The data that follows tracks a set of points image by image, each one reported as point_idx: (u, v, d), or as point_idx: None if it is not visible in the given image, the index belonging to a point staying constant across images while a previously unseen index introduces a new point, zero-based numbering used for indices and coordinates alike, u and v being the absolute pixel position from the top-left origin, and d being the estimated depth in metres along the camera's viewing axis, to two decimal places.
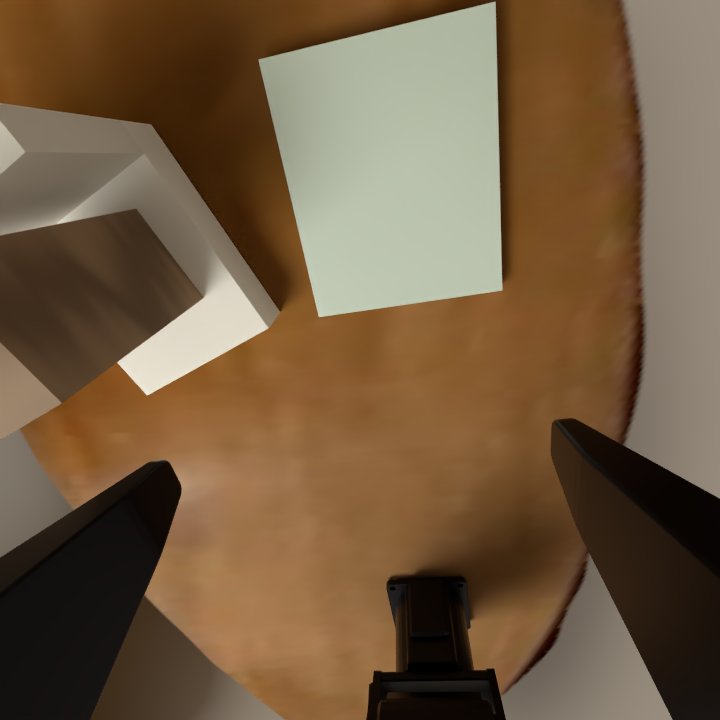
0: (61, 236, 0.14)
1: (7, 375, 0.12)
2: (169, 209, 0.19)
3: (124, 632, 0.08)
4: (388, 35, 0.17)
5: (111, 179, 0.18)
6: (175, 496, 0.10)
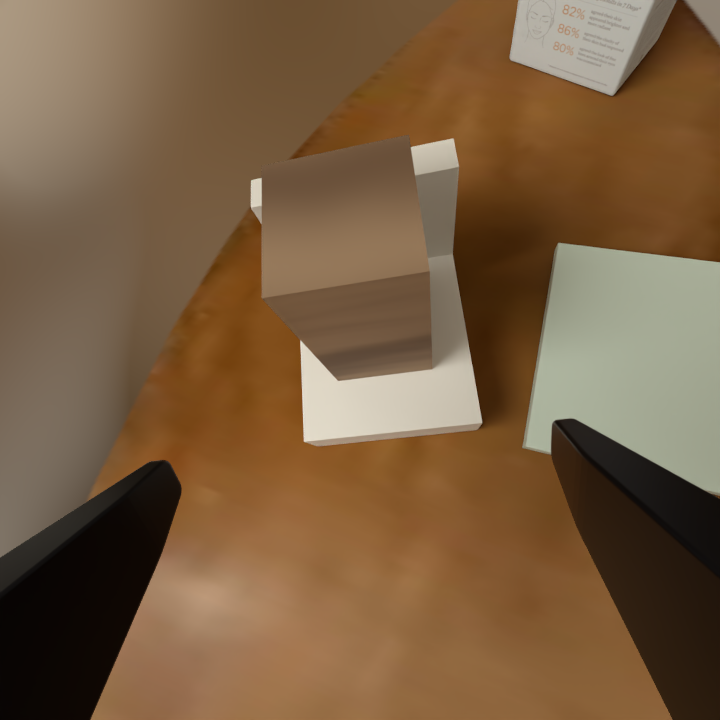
0: None
1: (398, 232, 0.12)
2: (447, 292, 0.22)
3: (124, 632, 0.08)
4: (668, 260, 0.22)
5: None
6: (175, 496, 0.10)
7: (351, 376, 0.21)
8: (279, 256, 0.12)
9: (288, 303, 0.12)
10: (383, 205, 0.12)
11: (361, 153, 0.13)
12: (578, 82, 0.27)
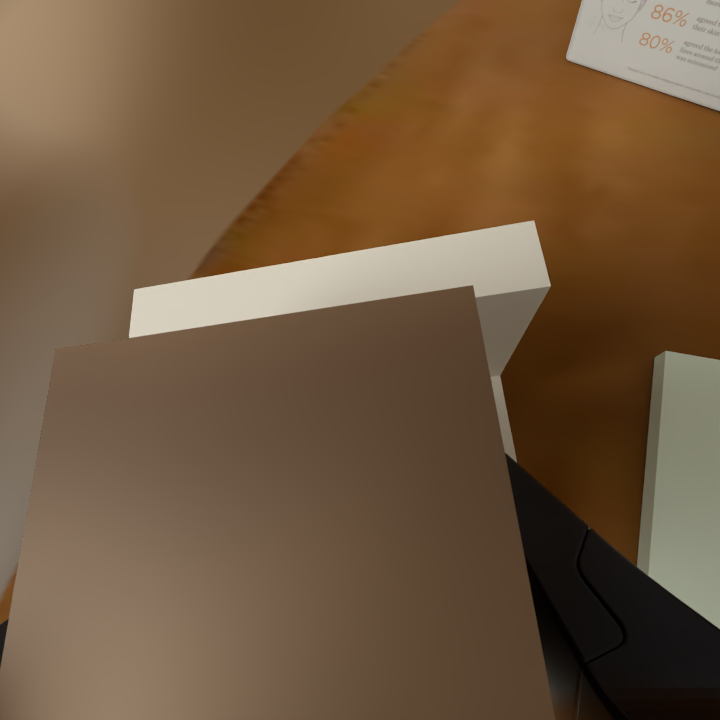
0: None
1: (455, 701, 0.03)
2: None
3: None
4: None
5: None
6: None
7: None
8: (44, 717, 0.04)
9: None
10: (398, 553, 0.04)
11: (327, 338, 0.04)
12: (672, 93, 0.18)
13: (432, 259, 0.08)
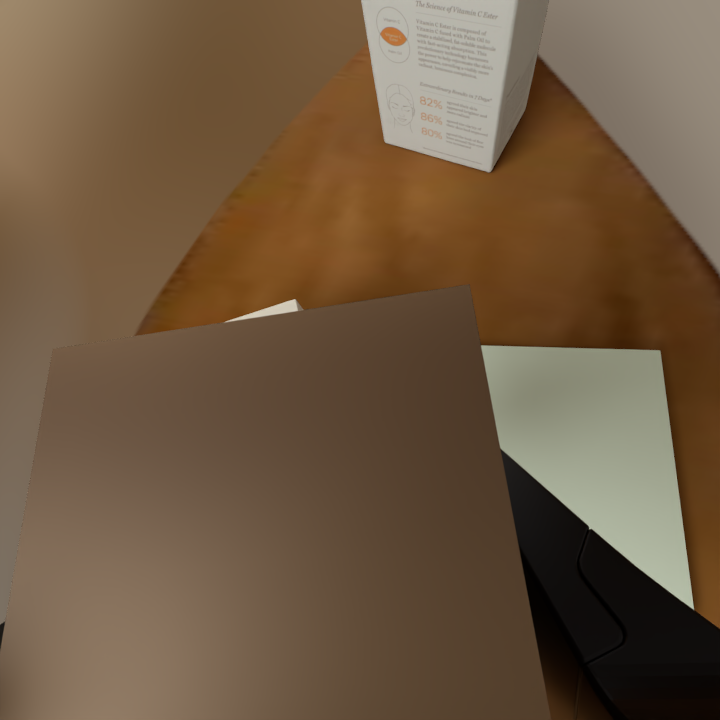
0: None
1: (452, 700, 0.03)
2: None
3: None
4: (566, 352, 0.21)
5: None
6: None
7: None
8: (41, 714, 0.04)
9: None
10: (396, 552, 0.04)
11: (322, 336, 0.04)
12: (454, 161, 0.26)
13: None
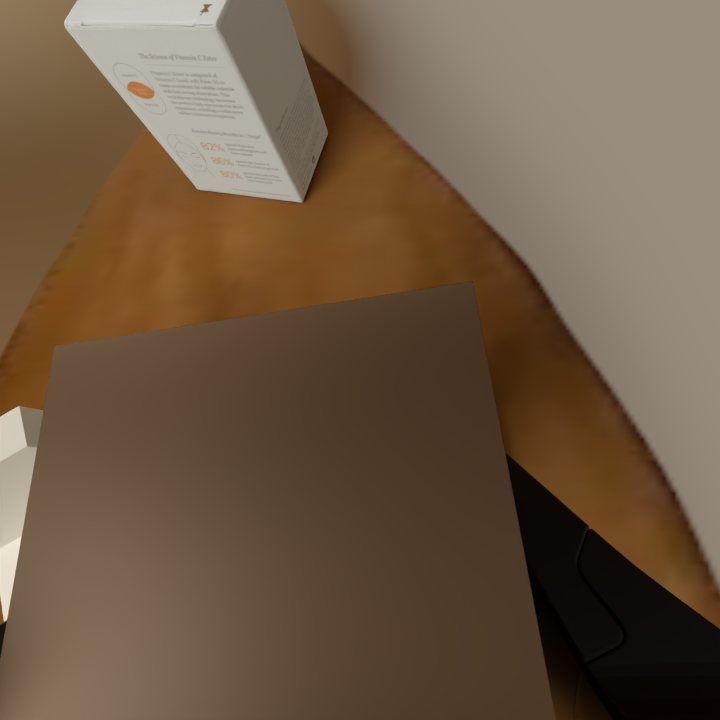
0: None
1: (455, 697, 0.03)
2: None
3: None
4: None
5: None
6: None
7: None
8: (44, 713, 0.04)
9: None
10: (399, 548, 0.04)
11: (326, 334, 0.04)
12: (267, 197, 0.25)
13: None
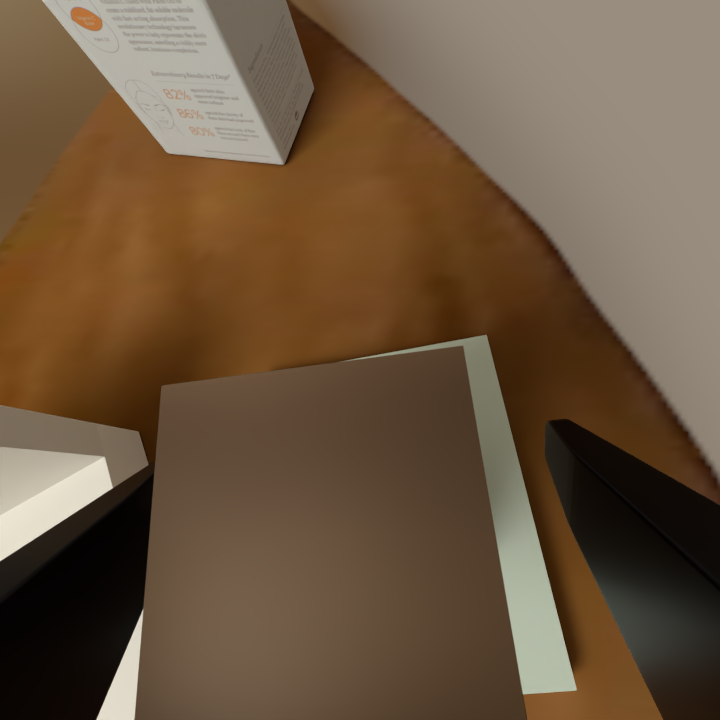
0: None
1: (450, 620, 0.05)
2: None
3: (130, 632, 0.08)
4: None
5: (58, 482, 0.16)
6: None
7: None
8: (178, 637, 0.06)
9: None
10: (413, 529, 0.05)
11: (360, 381, 0.06)
12: (244, 159, 0.22)
13: None
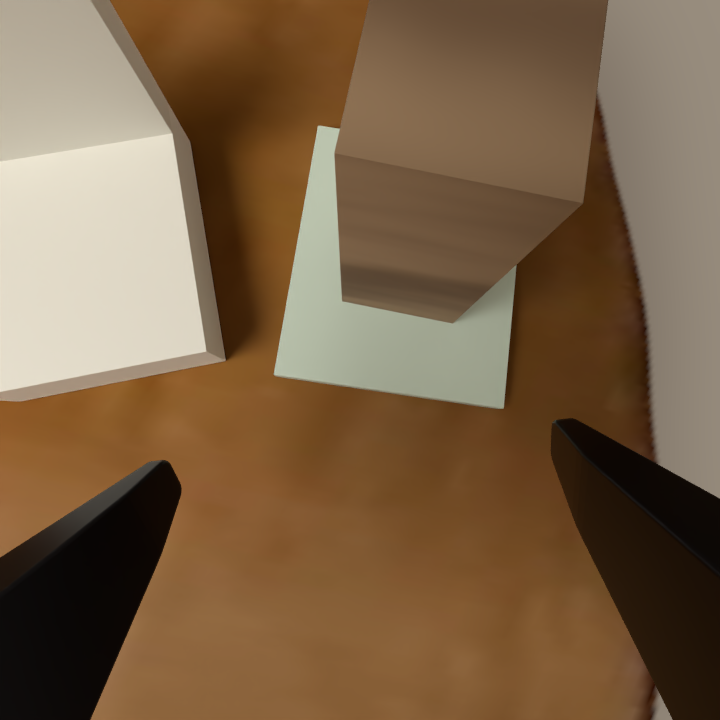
0: None
1: (556, 131, 0.08)
2: (165, 186, 0.17)
3: (124, 632, 0.08)
4: None
5: (121, 141, 0.17)
6: (175, 496, 0.10)
7: (360, 301, 0.17)
8: (375, 99, 0.08)
9: (364, 177, 0.08)
10: (547, 82, 0.08)
11: None
12: None
13: None
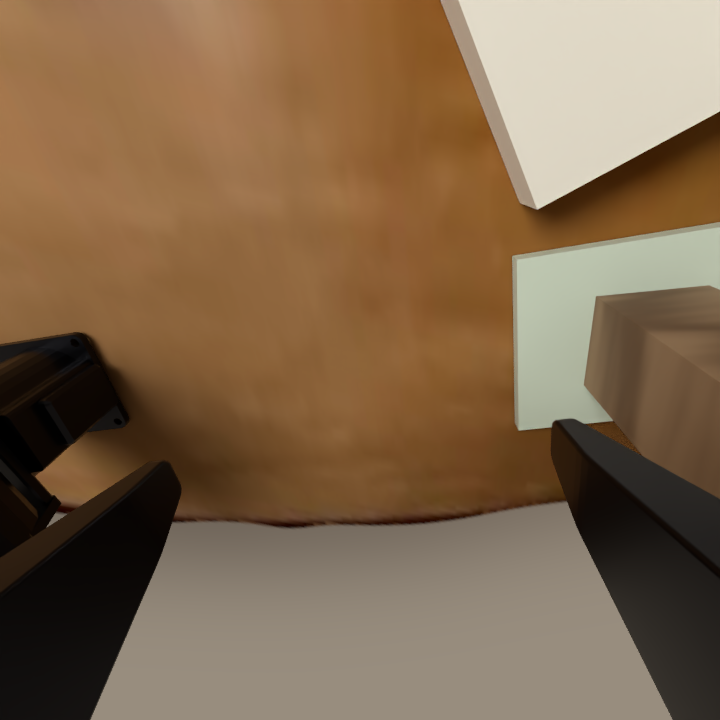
0: None
1: None
2: None
3: (125, 632, 0.08)
4: None
5: None
6: (175, 496, 0.10)
7: (598, 316, 0.19)
8: None
9: None
10: None
11: None
12: None
13: None
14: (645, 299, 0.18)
